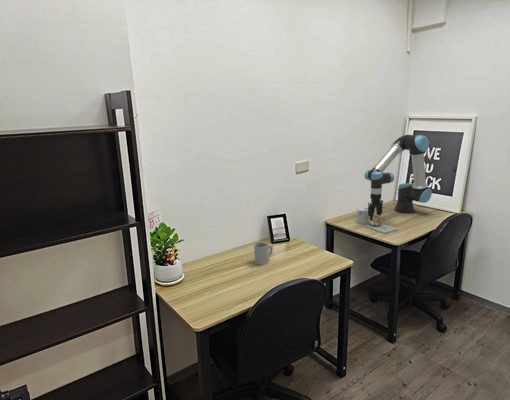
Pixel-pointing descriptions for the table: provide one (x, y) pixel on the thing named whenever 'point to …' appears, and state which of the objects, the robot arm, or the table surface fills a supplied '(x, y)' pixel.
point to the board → (381, 228)
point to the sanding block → (376, 220)
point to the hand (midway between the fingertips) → (374, 223)
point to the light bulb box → (362, 215)
